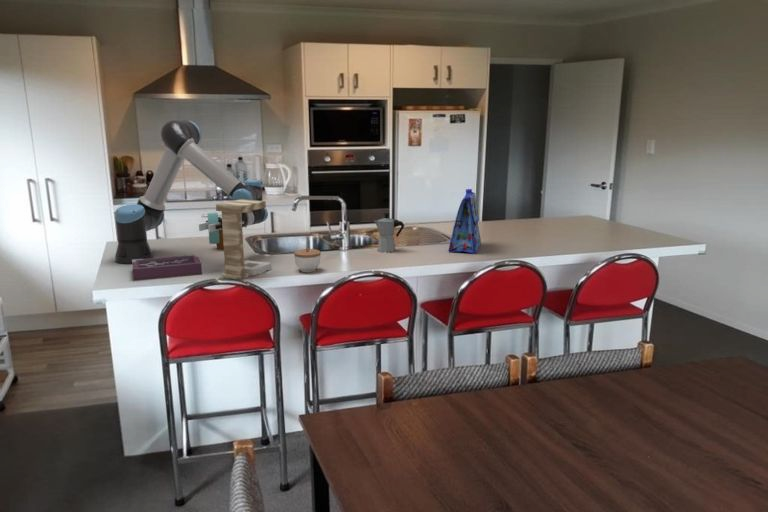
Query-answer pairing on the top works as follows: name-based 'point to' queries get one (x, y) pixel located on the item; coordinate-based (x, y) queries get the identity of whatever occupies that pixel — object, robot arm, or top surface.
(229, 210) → the wooden pedestal
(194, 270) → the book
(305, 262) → the lidded jar
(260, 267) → the socket
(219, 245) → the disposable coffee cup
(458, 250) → the lunch bag
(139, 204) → the robot arm
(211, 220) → the peg
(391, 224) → the coffee maker
